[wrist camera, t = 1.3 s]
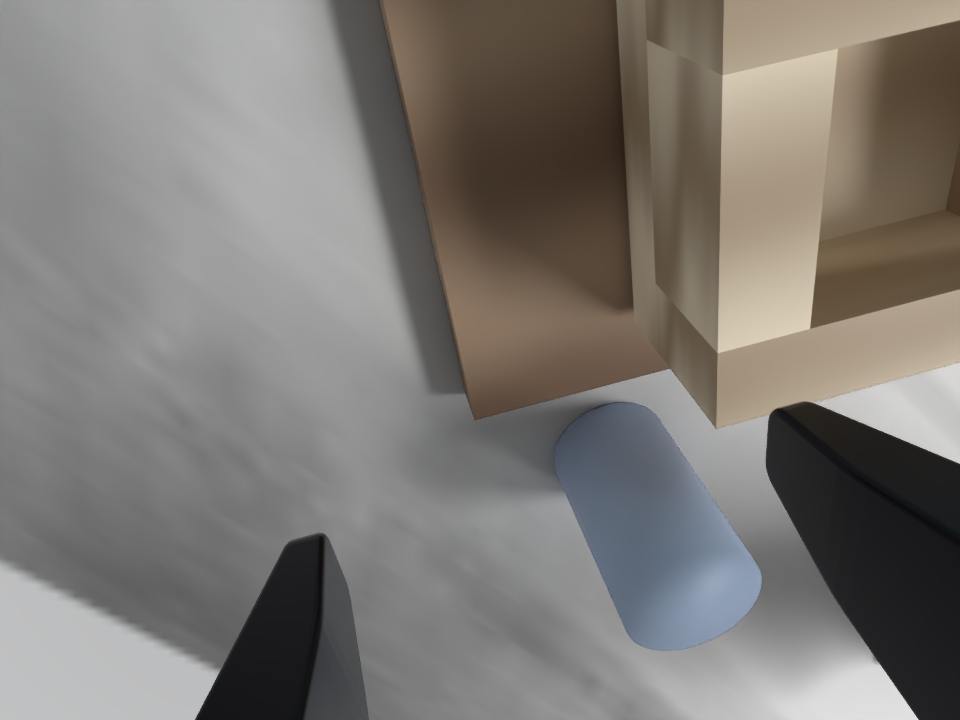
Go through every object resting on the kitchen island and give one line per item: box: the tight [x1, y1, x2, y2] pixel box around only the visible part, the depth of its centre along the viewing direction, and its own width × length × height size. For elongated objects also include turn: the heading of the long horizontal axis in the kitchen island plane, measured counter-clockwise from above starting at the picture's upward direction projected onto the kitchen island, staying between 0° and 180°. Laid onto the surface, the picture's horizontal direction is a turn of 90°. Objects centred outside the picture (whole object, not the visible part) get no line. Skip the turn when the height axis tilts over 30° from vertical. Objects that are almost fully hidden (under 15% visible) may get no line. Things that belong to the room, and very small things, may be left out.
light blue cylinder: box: [554, 403, 762, 651], centre depth 21 cm, size 4×4×6 cm
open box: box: [616, 0, 960, 429], centre depth 15 cm, size 9×9×4 cm
